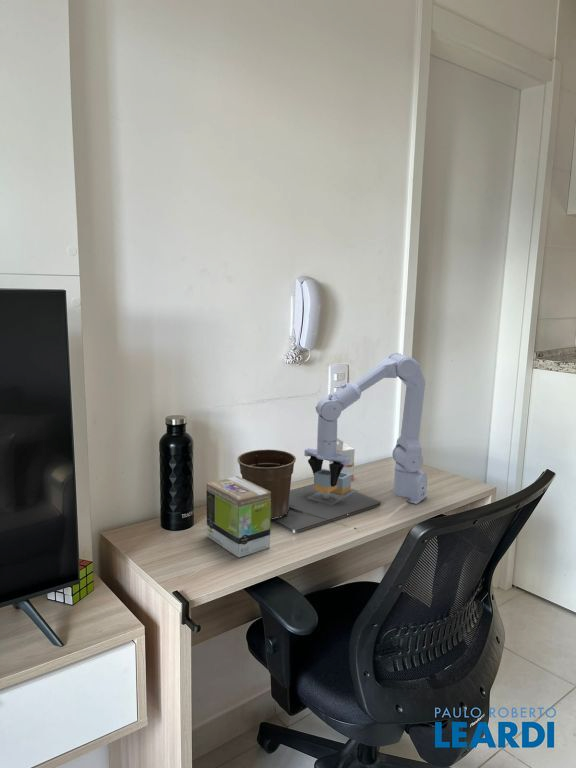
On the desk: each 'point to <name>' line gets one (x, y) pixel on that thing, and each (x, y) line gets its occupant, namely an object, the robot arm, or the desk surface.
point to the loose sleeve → (323, 481)
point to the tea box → (238, 515)
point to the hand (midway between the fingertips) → (325, 483)
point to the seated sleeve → (343, 483)
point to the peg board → (330, 496)
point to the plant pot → (270, 475)
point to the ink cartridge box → (346, 452)
